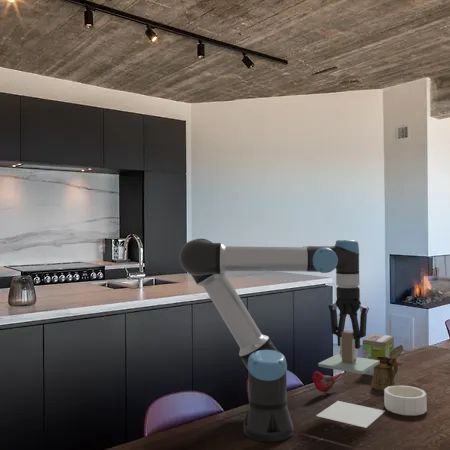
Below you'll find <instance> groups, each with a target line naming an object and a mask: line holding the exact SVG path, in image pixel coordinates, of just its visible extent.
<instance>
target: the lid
mask: <svg viewBox="0 0 450 450" xmlns="http://www.w3.org/2000/svg"><path fill="white" fill-rule="evenodd" d="M341 334H342V357H340V353H337V354H335V355H333V356H331V357H328V358H327V359H324V360H322V361H320V362H318V363H317V365H318V366H317V367H320V368H324V369H329V370H331V369H332V370H336V371H342V372H348V373H353V374H359V375H365V374H364V373H365V372H367V371H368V370H370V369H372V368H373V367H375V366H376V365H378V364H380V360H373V359H367V358H363V357H359V356H358V358H356V359H352V339H353V338H354V333H353V330H348V329H346V330H345V329H344V331H343V332H341Z"/></svg>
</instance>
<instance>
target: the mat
mask: <svg viewBox="0 0 450 450" xmlns="http://www.w3.org/2000/svg"><path fill="white" fill-rule="evenodd" d="M385 412H386V410H383V409H378V408H374V407H370V406H369V407H368V406H364V405H359V404H355V403H351V402H345V401H341V400H336V401H335V402H334V403H332V404H331V405H329V406H328V407H327V408H325V409H323V410H322V411H321V412H319V413H318V414H316V415H315V416H316V417H317V418H318V417H319V418H323V419H327V420H332V421H335V422H340V423H344V424H348V425H352V426H357V427H361V428H365V429H367V428H368V427H369V426H370V425H372V423H374V422H375V421H376V420H377V419H378V418H380V416H382V415H383V414H384V413H385Z"/></svg>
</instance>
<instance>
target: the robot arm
mask: <svg viewBox="0 0 450 450" xmlns="http://www.w3.org/2000/svg"><path fill="white" fill-rule="evenodd" d="M179 263H180V266H181V268H182V269H183V270H184V271H185V272H186V273H187V274H189V275H191V278H192V279H193V280H194V282H195V284H196V285H197V286H200V287H203V288H204V289H205V292H206V293H207V295H208V296H209V298H210V300H211V301H212V304H213V305H214V307H215V308H216V310H217V311H218V314H219V315H220V317H221V318H222V320H223V321H224V323H225V325H226V326H227V329H228V330H229V332H230V333H231V335H232V336H233V338H234V340H235V342H236V343H237V345H238V347H239V352H238V355H239V358H241V361H242V362H243V364H244V366H245V368H246V370H247V372H248V377H247V378H248V408H247V411H246V415H245V418H244V420H243V421H244V422H243V433H244V436H246V437H248V438H249V439H251V440H253V441H259V442H267V443H270V442H271V443H275V442H280V441H285V440H287V439H289V438H291V437H292V436H293V434H294V423H293V420H292V418H291V414H290V411H289V408H288V395H287V394H288V393H287V391H288V390H287V389H288V388H287V386H288V385H287V384H288V383H287V382H288V381H287V370H288V363H287V360H286V357H285V355H284V354H283V353H282V352H280V351H279V350H278V349H277V347H275V345H274V344H273V342H272V340H271V338H270V337H269V336H268V335H265V334H263V333H262V332H261V330H260V329H259V326H258V325H257V324H256V322H255V320H254V319H253V318H252V316H251V314H250V312H249V310H248V309H247V307H246V306H245V304H244V302H243V301H242V299H241V297H240V296H239V293H238V292H237V291H236V289H235V287H234V285H233V284H232V282H231V280H230V279H229V277H228V275H227V274H226V272H227V271H228V272H301V273H302V272H307V273H308V272H309V273H310V272H311V273H317V272H318V273H320V274H328V273H332V272H334V270H335V276H336V277H335V281H336V283H335V284H336V286H337V287H336V288H335V289H336V291H335V293H336V294H335V295H336V301H335V302H334V303H331V304H328V309H329V313H330V326H331V327H330V328H331V334H332V335H335V336H336V338H337V346H338V347H339V354H340V357H342V334H341V332H343V331H345V326H346V321H347V320H346V319H347V316H349V318H350V322H351V327H352V331H353V333H354V338H353V339H352V359H356V358H358V357H359V349H360V348H361V339H363V338H366V337H367V323H368V322H367V317H368V313H369V310H370V309H369V307H368V306H365V305H363V304H362V303H361V299H360V298H361V293H360V291H361V289H360V287H359V286H360V284H361V283H360V247H359V242H358V241H357V240H355V239H340V240H339V239H338V240H336V241H335V244H334V245H331V246H329V245H323V246H320V245H319V246H318V245H315V246H314V245H313V246H312V245H308V246H299V247H297V246H232V245H231V246H228V245H227V246H226V245H225V244H224V243H222V242H212V241H211V240H208V239H205V238H195V239H193V240H190V241H188V242H186V243H185V244H184V245H183V246H182V248H181V249H180V253H179ZM337 310H339V319H338V311H337ZM358 311H359V312H360V315H359V316H360V317H359V318H360V320H359V319H358Z"/></svg>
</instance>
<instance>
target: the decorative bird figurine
mask: <svg viewBox="0 0 450 450" xmlns="http://www.w3.org/2000/svg"><path fill="white" fill-rule="evenodd" d="M341 375H342V373H341V372H340V373H338V374H337V375H335V376H331V375H324V374H322V373H321V372H320V371H318V370H316V371H314V372H313V373H312V377H311V379H312V380H313V384H314V386H315V389H316V390H318V391H319V392H320V393H321V392H322V393H323V394H321V397H323V396H325V395H328V394H329V393H328V391H329V390H330V389H331V388H332V387H333V386H334V385H335V382H336V380H337V379H338V378H339V377H340V376H341Z"/></svg>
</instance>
